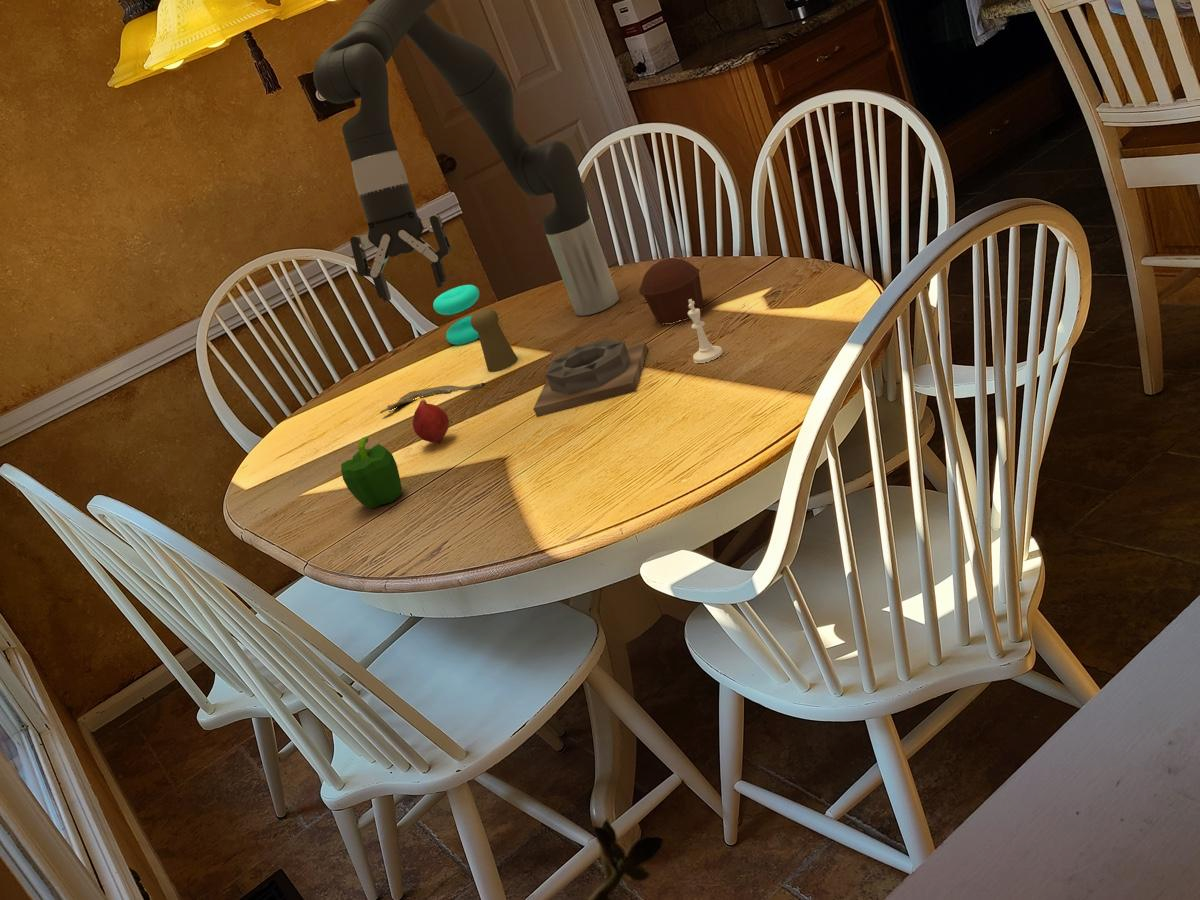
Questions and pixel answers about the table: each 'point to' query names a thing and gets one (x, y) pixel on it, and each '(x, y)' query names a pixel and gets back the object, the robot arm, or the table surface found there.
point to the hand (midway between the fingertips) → (414, 293)
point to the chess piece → (702, 338)
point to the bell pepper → (372, 475)
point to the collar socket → (591, 375)
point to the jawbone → (429, 393)
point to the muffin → (672, 289)
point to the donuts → (456, 303)
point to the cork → (493, 341)
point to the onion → (430, 422)
